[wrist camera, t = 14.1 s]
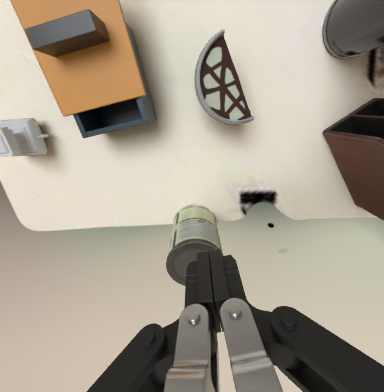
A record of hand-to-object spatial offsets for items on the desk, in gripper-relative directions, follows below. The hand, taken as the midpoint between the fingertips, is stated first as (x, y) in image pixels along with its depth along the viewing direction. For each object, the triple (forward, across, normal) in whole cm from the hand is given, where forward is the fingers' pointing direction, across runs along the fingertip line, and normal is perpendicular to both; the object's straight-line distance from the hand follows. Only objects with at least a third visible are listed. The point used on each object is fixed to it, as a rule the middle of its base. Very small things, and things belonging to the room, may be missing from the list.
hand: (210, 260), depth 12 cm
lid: (+23, +12, -20) cm, 33 cm away
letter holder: (+31, -33, +8) cm, 46 cm away
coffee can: (+31, +4, +16) cm, 35 cm away
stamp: (+31, +32, -11) cm, 46 cm away
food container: (+31, -5, -10) cm, 33 cm away
